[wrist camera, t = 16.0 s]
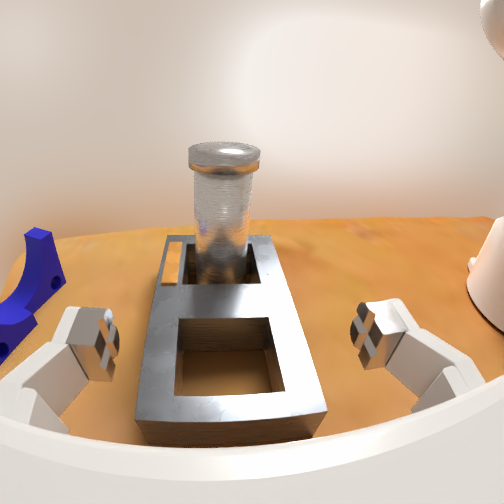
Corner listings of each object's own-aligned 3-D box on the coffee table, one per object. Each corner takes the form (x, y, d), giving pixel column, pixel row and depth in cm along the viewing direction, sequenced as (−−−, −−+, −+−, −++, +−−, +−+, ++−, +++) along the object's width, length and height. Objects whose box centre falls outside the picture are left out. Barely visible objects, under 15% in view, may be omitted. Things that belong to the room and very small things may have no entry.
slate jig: (266, 264, 32) (270, 233, 30) (312, 435, 16) (328, 409, 14) (170, 265, 30) (167, 233, 28) (148, 443, 14) (133, 417, 12)
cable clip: (-1, 369, 16) (-36, 315, 13) (-24, 347, 17) (-54, 296, 14) (76, 287, 26) (61, 234, 23) (49, 276, 27) (34, 227, 24)
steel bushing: (245, 277, 29) (255, 142, 23) (251, 312, 25) (265, 158, 18) (193, 277, 29) (191, 141, 22) (192, 314, 25) (185, 157, 18)
